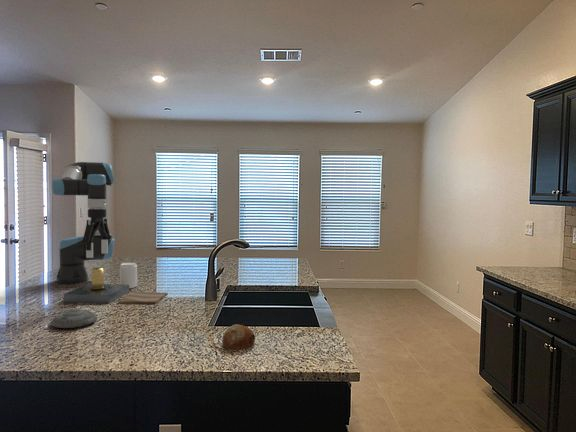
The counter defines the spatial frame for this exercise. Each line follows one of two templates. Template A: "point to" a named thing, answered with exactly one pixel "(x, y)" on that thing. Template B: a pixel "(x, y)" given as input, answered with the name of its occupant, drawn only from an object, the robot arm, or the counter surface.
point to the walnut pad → (143, 298)
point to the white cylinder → (128, 274)
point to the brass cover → (97, 279)
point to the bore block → (96, 294)
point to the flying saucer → (73, 319)
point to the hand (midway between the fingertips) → (97, 255)
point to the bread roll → (238, 337)
